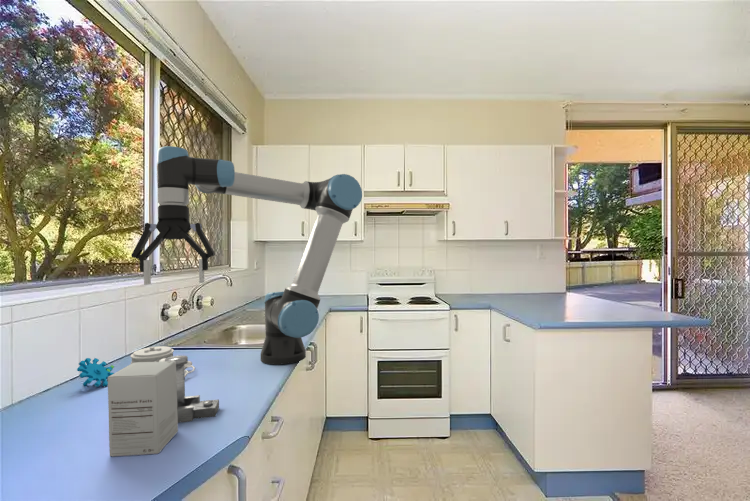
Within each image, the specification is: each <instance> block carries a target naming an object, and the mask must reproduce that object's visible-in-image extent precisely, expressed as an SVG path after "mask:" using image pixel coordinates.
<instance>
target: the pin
mask: <svg viewBox="0 0 750 501" xmlns="http://www.w3.org/2000/svg"><path fill="white" fill-rule="evenodd" d="M188 359H189V357H188V355H173V357H169V358H166V359H165V361H176V382H177V407H183V406H185V397H186V386H185V385H186V384H185V381H186V380H185V379H186V378H185V377H186V376H185V372H184V364H187V363H188V361H189V360H188Z"/></svg>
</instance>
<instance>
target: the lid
mask: <svg viewBox="0 0 750 501" xmlns="http://www.w3.org/2000/svg"><path fill="white" fill-rule="evenodd" d="M174 351H175V350H174V349H173V348H171V347H170V346H165V345H164V346H163V345H162V346H161V345H160V346H149V347H144V348H141V349H137V350H135V351H134V352H133V353H131V354H130V358H131V362H130V364H132V363H136V362H155V361H156V362H159V361H160V360H161V359H164V358H169V357H173V356H174Z"/></svg>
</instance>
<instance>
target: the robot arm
mask: <svg viewBox="0 0 750 501" xmlns="http://www.w3.org/2000/svg"><path fill="white" fill-rule="evenodd" d="M156 175H157V176H156V177H157V178H156V179H157V204H159V205H158V206H157V223H151V222H145V224H144V225H143V226H144V227H143V232H142V234H141V236H140V238H139V239H138V241H137V243H136V245H135V247H134V249H133V251H132V253H131V257H132V258H133V259H134V258H135V259H137V260H138V261H139V271H140V273H143V285H145V286H147V285H151V284H152V281H151V280H152V277H151V275H152V273H151V259H148V258H149V257H150V256H151V255H152V254H153V253H154V252H155V250H157V248H158V247H159V246H160V245H161V244H162V243H163V242H164V241H165V240H184V241H186V242H187V244H188V245H189V246H190V247H191V248H192V249H193V250H194V251H195V252H196V253H197V254H198V255H199V256H200V257H201V258H199V259H198V278H199V279H198V282H199V284H203V283H205V271H208V270H209V258H212V257H214V256H216V253H215V250H214V249H213V247H212V246H211V244H210V242H209V240H208V238H207V236H206V235H205V232H204V230H203V225H202V223H200V222H195V223H190V208H189V206H187V205H189V204H190V200H189V199H190V192H189V188H190V187H189V185H191V186H193V185H194V186H195V187H196V189H197V190H198V191H199V192H201V193H203V194H221V195H229V196H234V197H235V196H236V197H242V198H249V199H256V200H262V201H263V200H264V201H269V202H277V203H283V204H290V205H297V206H299V207H300V208H301V209H303V210H304V209H305V210H311V211H314V212H316V214H317V216H316V219H315V221H314V224H313V227H312V229H311V232H310V235H309V237H308V241H307V243H306V246H305V249H304V251H303V254H302V256H301V260H300V262H299V265H298V267H297V270H296V273H295V274H294V275H295V276H294V278H293V280H292V283H291V284H289V285H287V287H285V288H284V291H274V292H273V291H272V292H268V293H266V294H265V296H264V301H263V302H264V317H265V318H264V319H265V323H264V324H265V325H264V326H265V329H264V330H265V337H264V342H263V345H262V348H261V351H260V362H261V363H263V364H267V365H287V364H289V365H290V364H295V363H298V362H301V361H303V360H304V359H306V358H307V353H306V348H305V345H304V341H303V339H302V338H304V337H307V336H309V335H311V333H312V332H314V330H315V329H316V328H317V326H318V324H319V320H320V315H319V310H318V309H319V305H320V302H321V297H320V295H319V290H320V288H321V285H322V283H323V280H324V277H325V275H326V272H327V268H328V265H329V263H330V261H331V258H332V255H333V251H334V249H335V246H336V243H337V240H338V239H339V238H338V237H339V235H340V233H341V229H342V227H343V225H344V224H346V223H347V222H349V220H350V218H351V215H352V213H353V210H354V209H355V208H357V207H358V206H359V204H361V202H362V199H363V190H362V187H361V185H360V182H359V181H358V180H357V178H355V177H354V176H351V175H350V174H347V173H346V174H345V173H342V174H336V175H333V176H332V177H330V178H328V179H325V180H323V181H309V180H305V181H303V182H301V183H300V182H296V181H290V180H284V179H280V178H279V179H277V178H271V177H267V176H259V175H254V174H248V173H243V172H237V171H235V164H234V163H233V162H232V161H231V160H225V159H221V158H220V159H214V158H204V157H201V158H200V157H192V156H190V155H189V152H188V150H187V149H186V148H183V147H178V146H169V145H167V146H162V147H159V148H158V150H157V152H156ZM191 229H192V230H193V231H194V232H196V234H197V236H198V238H199V240H200V241H201V243H202V245H203V247H204V249H205V250H206V251H205V250H204V249H203V248H202V247H201V246H200V245H199V244H198V243H197V242H196V241H195V240H194V239H193V237H192V236H191V235H190V234H189V232H190V231H191ZM155 230H157V231H158V232H159V233H158V235H157V236H156V237H155V239H153V240H152V242H151V243H150V244H149V245H148V246H147V247H146V245H147V243H148V241H149V240H150V237H151V235H152V233H153V232H154V231H155ZM145 247H146V248H145ZM206 252H207V253H206Z"/></svg>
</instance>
